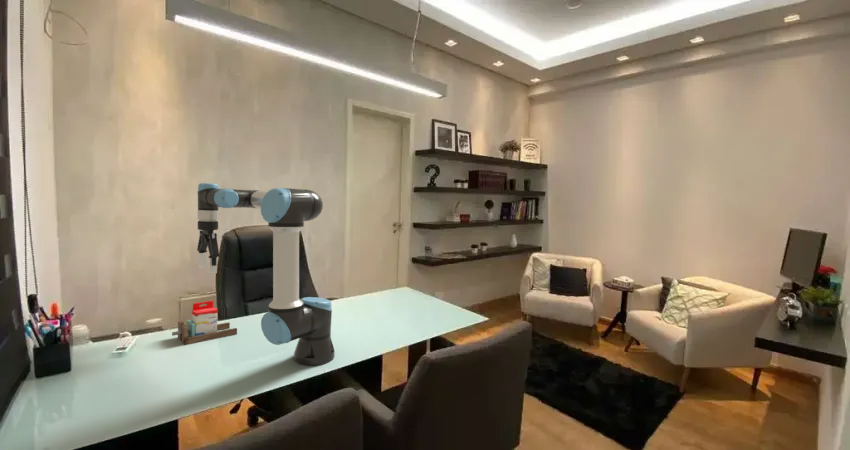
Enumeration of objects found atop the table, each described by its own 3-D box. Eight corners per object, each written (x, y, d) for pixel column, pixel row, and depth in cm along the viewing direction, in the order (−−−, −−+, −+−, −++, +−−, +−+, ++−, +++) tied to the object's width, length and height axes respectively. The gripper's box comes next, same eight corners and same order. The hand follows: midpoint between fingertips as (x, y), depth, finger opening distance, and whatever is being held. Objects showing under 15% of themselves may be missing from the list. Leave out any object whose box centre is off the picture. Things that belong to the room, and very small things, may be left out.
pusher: (195, 340, 157) (195, 324, 157) (174, 345, 152) (174, 328, 152) (190, 335, 162) (190, 319, 162) (170, 339, 157) (170, 323, 157)
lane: (237, 334, 168) (237, 318, 167) (184, 345, 153) (184, 328, 153) (228, 327, 175) (228, 312, 174) (177, 337, 161) (178, 321, 160)
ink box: (195, 340, 158) (196, 306, 157) (191, 337, 161) (191, 303, 160) (217, 335, 165) (218, 302, 164) (212, 332, 168) (213, 299, 167)
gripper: (228, 222, 154) (227, 274, 155) (208, 218, 171) (207, 265, 172) (207, 222, 148) (207, 276, 150) (189, 218, 165) (189, 266, 167)
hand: (207, 270), depth 161 cm, fingers open, 13 cm apart
